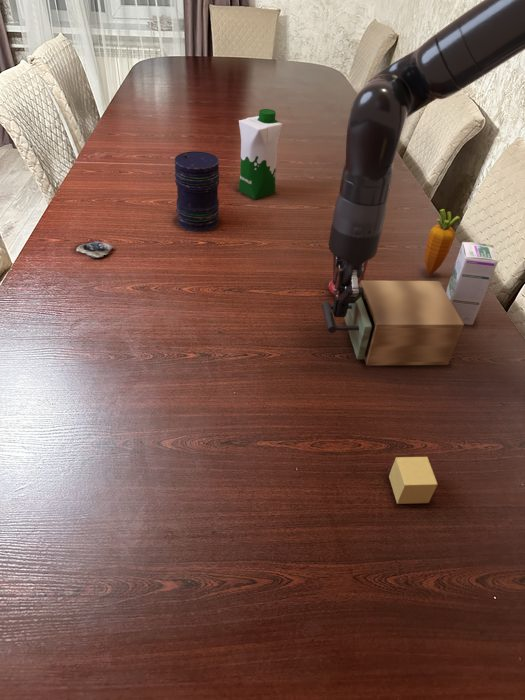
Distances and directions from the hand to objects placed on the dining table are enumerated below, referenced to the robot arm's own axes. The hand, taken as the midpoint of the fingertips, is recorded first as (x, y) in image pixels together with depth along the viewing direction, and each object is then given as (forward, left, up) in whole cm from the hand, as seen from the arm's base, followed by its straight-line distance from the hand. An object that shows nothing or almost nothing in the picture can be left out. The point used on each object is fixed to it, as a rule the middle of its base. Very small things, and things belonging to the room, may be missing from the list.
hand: (338, 314), depth 90 cm
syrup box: (-26, -8, -6) cm, 28 cm away
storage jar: (+25, -44, -6) cm, 51 cm away
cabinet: (-12, 0, -6) cm, 14 cm away
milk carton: (+10, -61, -6) cm, 62 cm away
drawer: (-7, 0, -5) cm, 9 cm away
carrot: (-25, -22, -6) cm, 34 cm away
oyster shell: (+47, -30, -6) cm, 56 cm away
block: (-5, +31, -6) cm, 32 cm away
